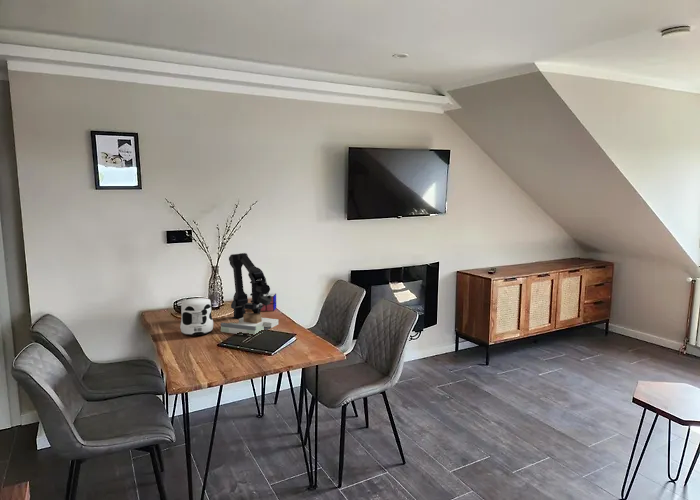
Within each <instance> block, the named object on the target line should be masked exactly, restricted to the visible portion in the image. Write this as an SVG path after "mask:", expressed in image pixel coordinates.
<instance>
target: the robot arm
mask: <svg viewBox="0 0 700 500" xmlns="http://www.w3.org/2000/svg"><path fill="white" fill-rule="evenodd" d="M228 261H229V265H230V267H231V268H232V270H233V271H232V272H233V279H234V289H235V290H234V295H233V297H232V298H233V301H232V302H231V303H230V309H233V316H232V318H231V319H237V320H239V319H240V318H243V314H245V313H247V311H246V310H251V311H252V313H259V314H261V312H262V311H261V308H262V307H264V305H265V306H267V305H270V302H271V301H272V297H271V296H270V295H269V296H264V294H268V293H270V291H271V288H270V286H269V284H268V283H267V278H266V276H265V274H264V272H263V271H262V269H261V268H259V267H257V266H256V265H255V264H254V263H253V261H252V260H251V259H250V258H249V256H248V253H246V252H243V253H231V254H230V256H228ZM243 266H244V268H245V269H246V270H247V272H248V277H249V280H250V281H249V283H250V284H251V293H250V296H251V300H250V302H249V299H248V298H249V297H248V294H247V293H246V292H245V289H244V281H243V271H242V270H243V269H242V267H243ZM262 304H264V305H262Z"/></svg>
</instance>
